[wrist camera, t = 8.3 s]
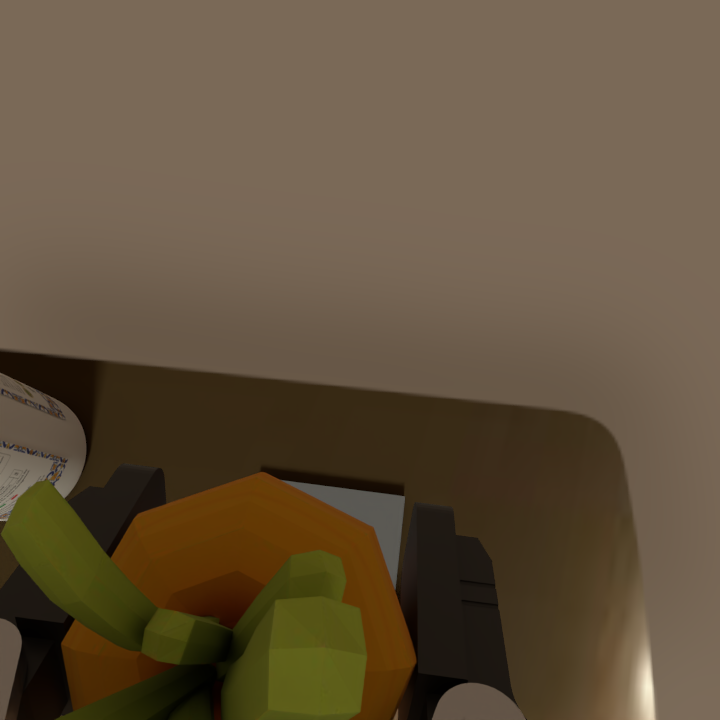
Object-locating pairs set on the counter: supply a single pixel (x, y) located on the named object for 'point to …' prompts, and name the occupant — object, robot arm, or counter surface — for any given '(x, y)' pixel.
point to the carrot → (221, 607)
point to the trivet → (367, 515)
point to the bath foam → (36, 443)
